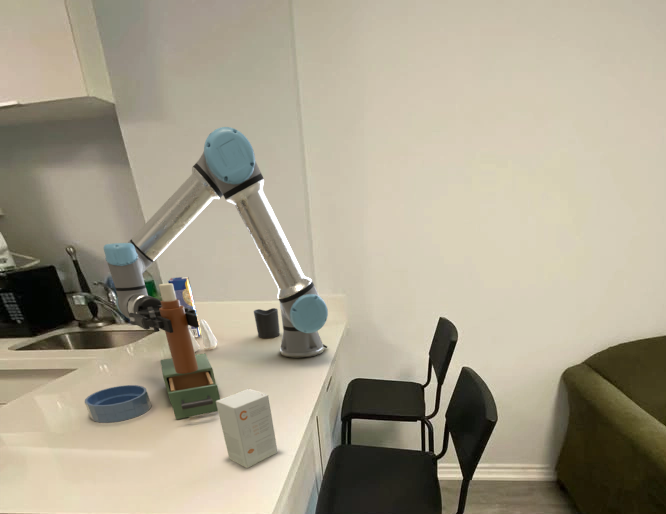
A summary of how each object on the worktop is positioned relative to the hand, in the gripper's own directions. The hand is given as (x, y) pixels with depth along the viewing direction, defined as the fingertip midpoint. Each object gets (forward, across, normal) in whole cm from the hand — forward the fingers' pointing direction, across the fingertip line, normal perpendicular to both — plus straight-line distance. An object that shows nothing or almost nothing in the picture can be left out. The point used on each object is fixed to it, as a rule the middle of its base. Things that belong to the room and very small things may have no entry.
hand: (183, 324), depth 97 cm
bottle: (-5, 0, -12) cm, 13 cm away
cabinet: (-17, -4, -22) cm, 29 cm away
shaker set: (-57, -25, -22) cm, 67 cm away
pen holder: (-56, -54, -22) cm, 81 cm away
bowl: (-17, +15, -22) cm, 32 cm away
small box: (+29, +2, -22) cm, 36 cm away
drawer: (-3, 0, -21) cm, 22 cm away
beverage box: (-84, -33, -22) cm, 93 cm away
